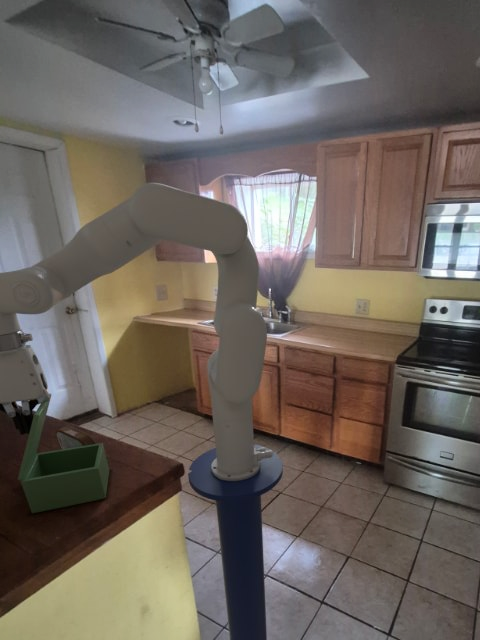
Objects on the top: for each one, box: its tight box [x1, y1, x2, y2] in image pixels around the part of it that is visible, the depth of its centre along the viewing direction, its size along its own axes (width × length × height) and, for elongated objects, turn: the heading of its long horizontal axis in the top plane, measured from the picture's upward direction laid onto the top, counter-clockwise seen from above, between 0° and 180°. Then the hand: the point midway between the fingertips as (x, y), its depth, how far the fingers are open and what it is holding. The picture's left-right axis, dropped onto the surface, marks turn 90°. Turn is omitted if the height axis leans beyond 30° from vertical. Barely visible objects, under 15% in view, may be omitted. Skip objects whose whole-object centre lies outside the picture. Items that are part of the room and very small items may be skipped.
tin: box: [54, 424, 97, 450], centre depth 92 cm, size 15×3×8 cm, turn 59°
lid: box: [17, 393, 52, 481], centre depth 75 cm, size 14×11×1 cm
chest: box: [20, 442, 110, 514], centre depth 81 cm, size 14×11×8 cm
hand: (27, 431), depth 75 cm, fingers closed
